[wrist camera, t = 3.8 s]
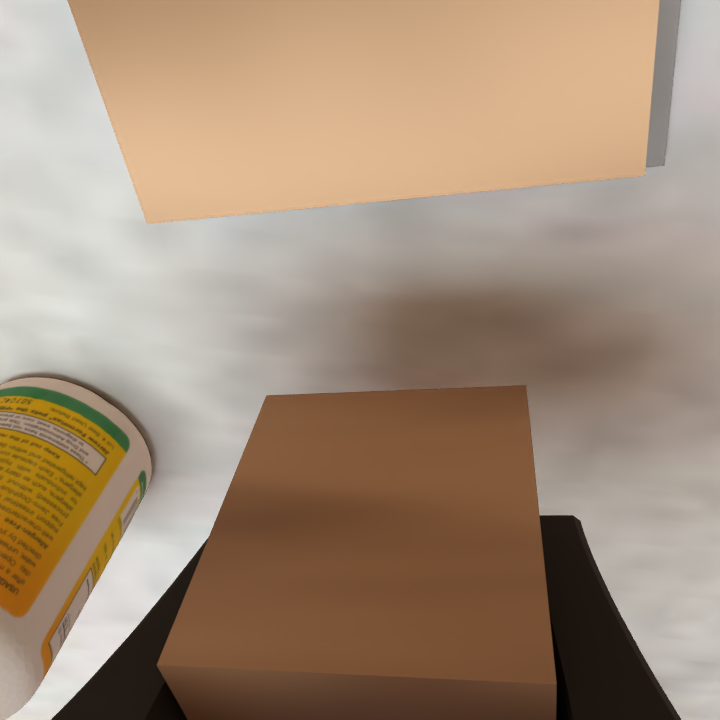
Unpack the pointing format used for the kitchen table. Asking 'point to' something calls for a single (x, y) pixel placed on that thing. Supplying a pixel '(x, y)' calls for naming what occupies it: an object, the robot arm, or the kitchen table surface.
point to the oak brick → (367, 97)
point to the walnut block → (373, 566)
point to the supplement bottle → (57, 517)
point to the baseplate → (662, 81)
